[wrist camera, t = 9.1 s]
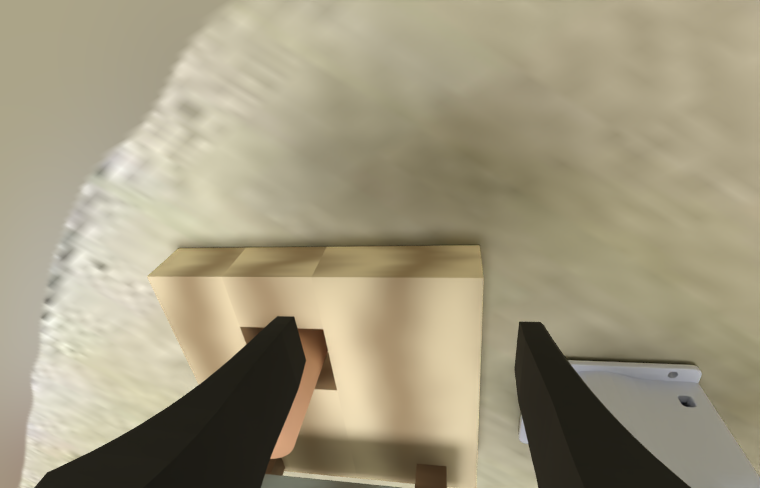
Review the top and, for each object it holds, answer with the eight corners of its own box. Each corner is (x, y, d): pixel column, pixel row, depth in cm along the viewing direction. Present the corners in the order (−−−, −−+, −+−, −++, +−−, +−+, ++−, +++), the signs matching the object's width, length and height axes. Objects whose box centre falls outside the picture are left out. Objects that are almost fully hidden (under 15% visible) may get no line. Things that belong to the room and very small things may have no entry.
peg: (331, 300, 25) (287, 412, 18) (338, 347, 27) (300, 463, 20) (271, 297, 26) (206, 403, 19) (281, 342, 28) (226, 453, 21)
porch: (479, 245, 21) (490, 338, 15) (474, 449, 30) (479, 557, 24) (178, 248, 25) (91, 326, 19) (254, 431, 34) (211, 523, 28)
